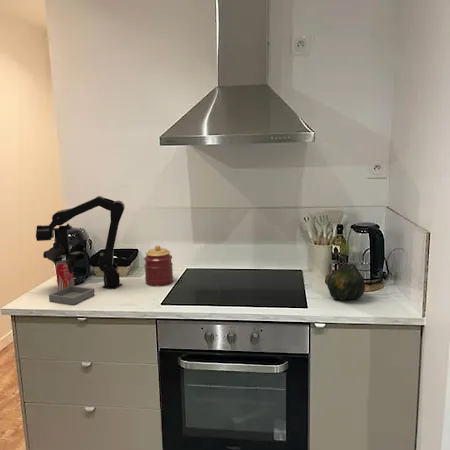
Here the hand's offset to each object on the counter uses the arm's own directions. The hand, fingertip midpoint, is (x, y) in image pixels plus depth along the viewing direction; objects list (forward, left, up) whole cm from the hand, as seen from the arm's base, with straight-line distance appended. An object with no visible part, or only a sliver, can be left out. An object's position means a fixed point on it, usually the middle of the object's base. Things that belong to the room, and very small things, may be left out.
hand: (65, 273), depth 213 cm
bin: (-11, +9, -8) cm, 16 cm away
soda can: (0, 0, -8) cm, 8 cm away
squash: (-118, -32, -8) cm, 122 cm away
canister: (-34, -24, -8) cm, 42 cm away
